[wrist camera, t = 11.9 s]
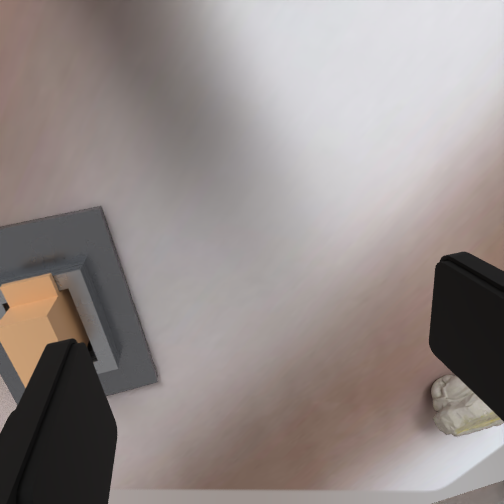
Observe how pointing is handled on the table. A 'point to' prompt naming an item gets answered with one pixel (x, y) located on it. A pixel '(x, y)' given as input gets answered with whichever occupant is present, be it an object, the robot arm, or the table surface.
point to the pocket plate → (80, 293)
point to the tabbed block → (37, 321)
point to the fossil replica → (460, 408)
